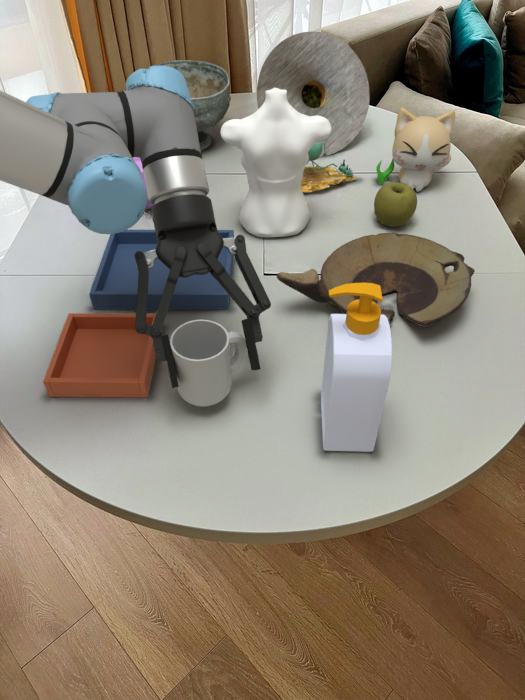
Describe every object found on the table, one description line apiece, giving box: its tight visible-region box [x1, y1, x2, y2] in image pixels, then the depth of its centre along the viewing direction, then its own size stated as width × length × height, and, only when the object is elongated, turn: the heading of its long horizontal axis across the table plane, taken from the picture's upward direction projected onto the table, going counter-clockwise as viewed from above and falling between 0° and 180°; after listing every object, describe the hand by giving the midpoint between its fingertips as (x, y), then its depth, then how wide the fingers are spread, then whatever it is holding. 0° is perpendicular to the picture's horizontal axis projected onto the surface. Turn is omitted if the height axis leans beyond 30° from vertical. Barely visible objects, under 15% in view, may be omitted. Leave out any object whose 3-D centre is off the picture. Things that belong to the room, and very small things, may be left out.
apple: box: [373, 181, 418, 228], centre depth 103 cm, size 8×8×7 cm
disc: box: [256, 31, 370, 158], centre depth 127 cm, size 25×18×25 cm
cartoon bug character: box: [301, 141, 358, 194], centre depth 111 cm, size 10×18×15 cm, turn 83°
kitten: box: [376, 107, 456, 193], centre depth 110 cm, size 15×10×15 cm
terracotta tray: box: [42, 312, 157, 398], centre depth 80 cm, size 14×14×3 cm
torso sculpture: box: [219, 88, 331, 238], centre depth 96 cm, size 18×10×25 cm, turn 95°
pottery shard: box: [275, 232, 476, 327], centre depth 89 cm, size 22×30×8 cm
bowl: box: [154, 59, 232, 151], centre depth 123 cm, size 20×19×15 cm
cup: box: [169, 318, 248, 407], centre depth 72 cm, size 7×10×9 cm
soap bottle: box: [320, 283, 393, 453], centre depth 65 cm, size 9×7×23 cm
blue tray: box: [88, 229, 235, 310], centre depth 94 cm, size 22×18×3 cm
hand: (216, 378), depth 70 cm, fingers closed on cup, 10 cm apart
